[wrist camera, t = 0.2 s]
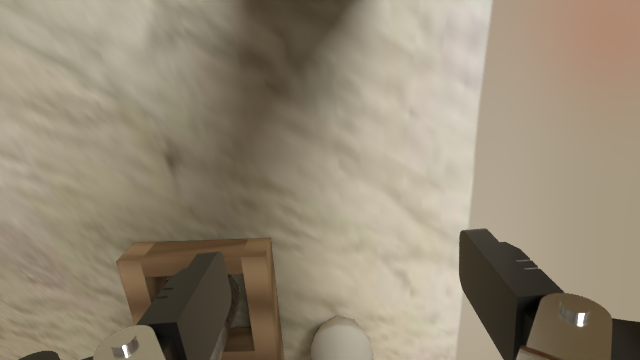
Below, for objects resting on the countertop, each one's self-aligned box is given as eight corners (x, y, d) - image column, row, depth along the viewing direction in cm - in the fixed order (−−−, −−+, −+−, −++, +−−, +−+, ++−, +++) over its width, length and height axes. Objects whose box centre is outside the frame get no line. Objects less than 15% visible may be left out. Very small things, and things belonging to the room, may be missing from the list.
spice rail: (134, 242, 32) (115, 261, 30) (270, 237, 32) (265, 256, 29) (180, 413, 40) (169, 441, 37) (290, 411, 40) (287, 439, 37)
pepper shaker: (177, 269, 33) (119, 357, 24) (237, 267, 33) (202, 355, 24) (188, 317, 35) (138, 415, 26) (244, 315, 35) (215, 414, 26)
